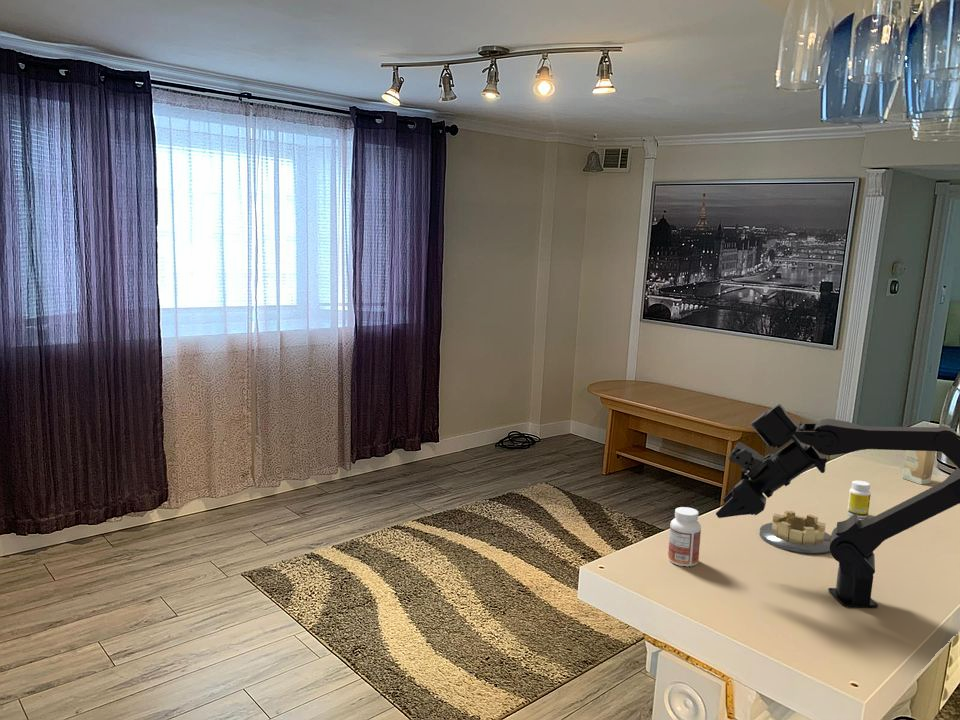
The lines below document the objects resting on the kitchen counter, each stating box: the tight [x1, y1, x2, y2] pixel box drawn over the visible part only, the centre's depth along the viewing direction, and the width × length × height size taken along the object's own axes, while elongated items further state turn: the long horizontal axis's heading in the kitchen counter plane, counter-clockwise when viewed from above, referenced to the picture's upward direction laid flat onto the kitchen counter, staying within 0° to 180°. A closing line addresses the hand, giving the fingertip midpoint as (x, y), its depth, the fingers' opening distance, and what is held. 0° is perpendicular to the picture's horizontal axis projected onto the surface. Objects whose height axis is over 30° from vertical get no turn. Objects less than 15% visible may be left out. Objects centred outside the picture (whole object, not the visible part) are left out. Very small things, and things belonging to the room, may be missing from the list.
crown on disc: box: [759, 510, 831, 556], centre depth 165 cm, size 16×16×5 cm
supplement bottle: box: [846, 480, 871, 519], centre depth 182 cm, size 5×5×8 cm
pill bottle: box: [667, 506, 702, 568], centre depth 151 cm, size 6×6×11 cm
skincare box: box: [901, 450, 937, 485], centre depth 211 cm, size 6×4×12 cm
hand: (721, 508), depth 147 cm, fingers open, 9 cm apart
